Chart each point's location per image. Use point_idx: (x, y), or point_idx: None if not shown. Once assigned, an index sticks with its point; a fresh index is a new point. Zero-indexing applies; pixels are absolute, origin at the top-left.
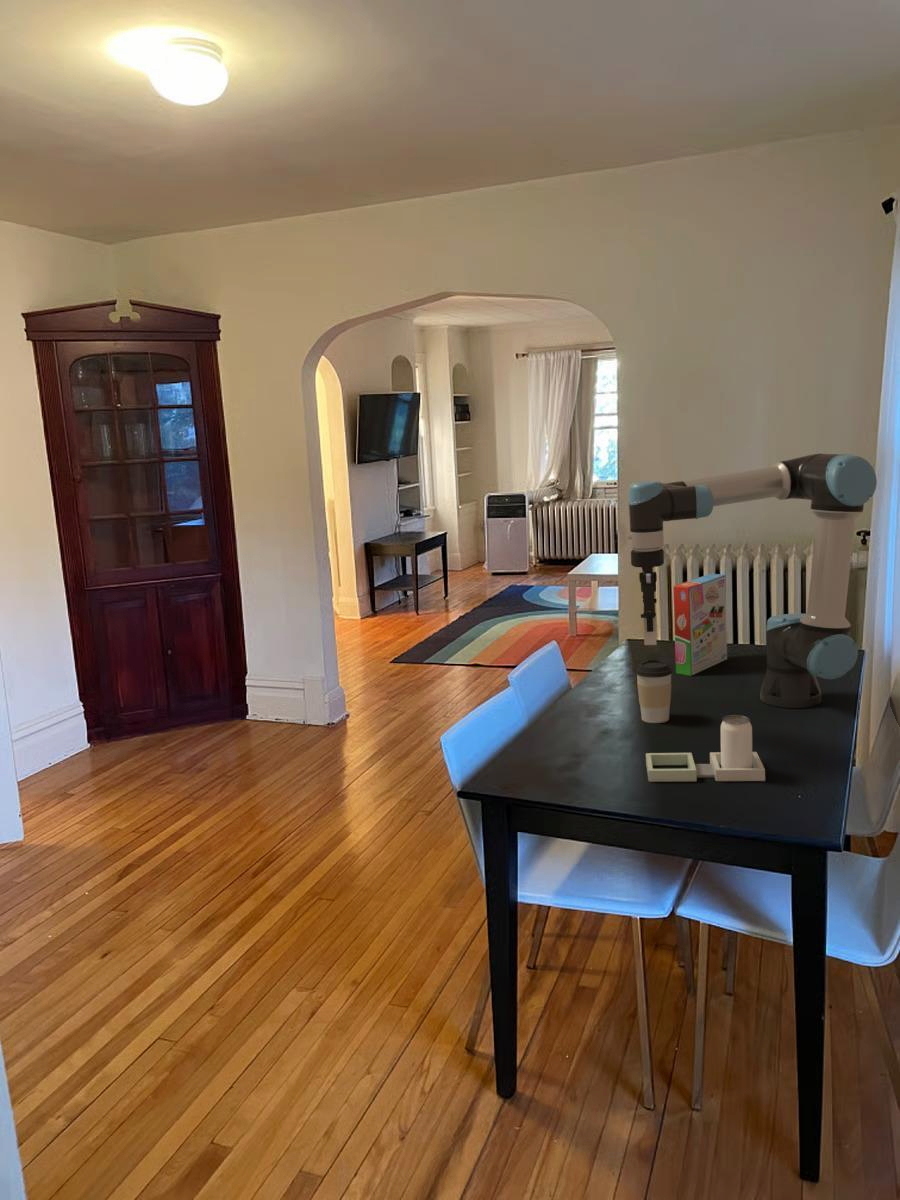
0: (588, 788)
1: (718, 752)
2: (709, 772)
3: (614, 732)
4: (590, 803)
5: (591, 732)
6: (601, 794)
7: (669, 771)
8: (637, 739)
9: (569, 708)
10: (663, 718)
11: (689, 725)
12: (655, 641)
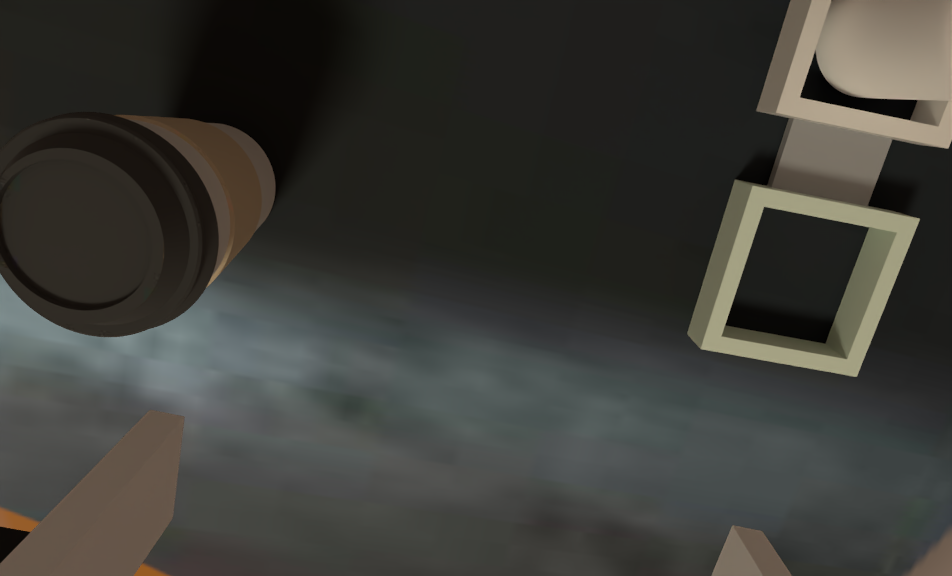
0: (814, 531)
1: (788, 77)
2: (865, 150)
3: (355, 372)
4: (914, 541)
5: (339, 448)
6: (869, 505)
7: (881, 308)
8: (447, 308)
9: (51, 480)
10: (265, 162)
11: (327, 60)
12: (773, 561)
